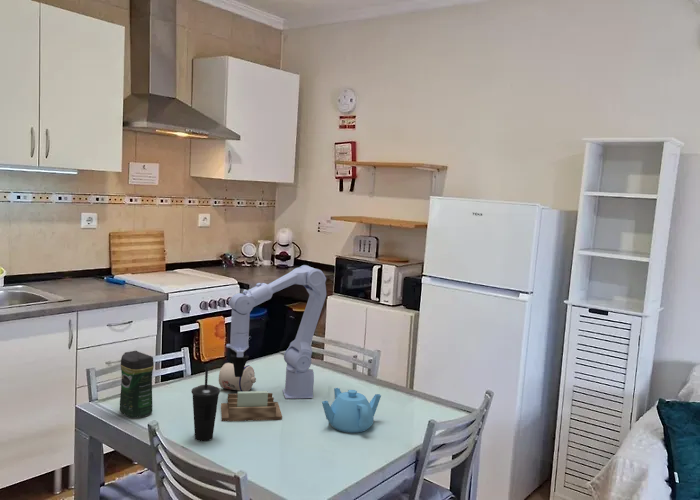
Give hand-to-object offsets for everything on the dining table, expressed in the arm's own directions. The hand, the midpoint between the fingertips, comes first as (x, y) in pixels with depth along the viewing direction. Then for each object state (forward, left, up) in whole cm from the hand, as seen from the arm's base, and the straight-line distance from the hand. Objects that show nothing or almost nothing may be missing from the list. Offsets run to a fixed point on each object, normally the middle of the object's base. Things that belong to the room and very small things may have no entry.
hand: (237, 372), depth 192 cm
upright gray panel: (-4, +13, -9) cm, 16 cm away
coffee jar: (+30, +7, -10) cm, 32 cm away
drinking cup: (+10, +26, -10) cm, 30 cm away
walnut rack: (-4, +9, -10) cm, 14 cm away
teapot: (-33, +20, -10) cm, 40 cm away
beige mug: (+3, -15, -6) cm, 17 cm away
